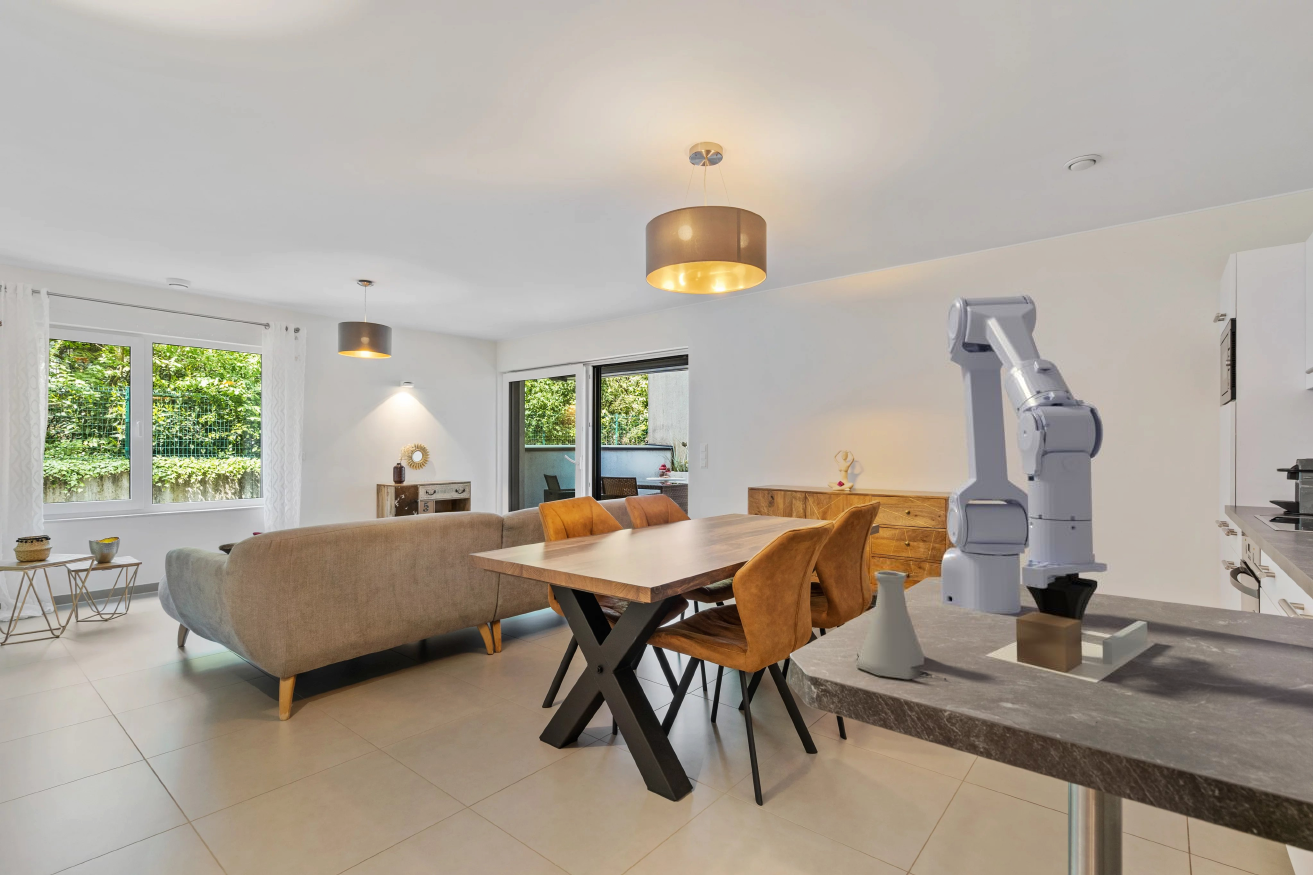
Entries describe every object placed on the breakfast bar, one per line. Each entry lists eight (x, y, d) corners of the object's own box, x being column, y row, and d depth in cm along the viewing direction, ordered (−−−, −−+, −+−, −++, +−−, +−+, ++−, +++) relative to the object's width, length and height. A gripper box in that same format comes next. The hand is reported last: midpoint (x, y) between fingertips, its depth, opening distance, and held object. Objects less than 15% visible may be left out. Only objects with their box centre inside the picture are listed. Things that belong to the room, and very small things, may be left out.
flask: (843, 669, 65) (842, 573, 66) (873, 653, 71) (872, 564, 71) (913, 686, 61) (912, 583, 61) (939, 667, 66) (938, 572, 66)
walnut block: (1017, 661, 64) (1016, 618, 64) (1034, 652, 67) (1033, 611, 67) (1065, 673, 61) (1064, 627, 61) (1082, 663, 63) (1081, 619, 63)
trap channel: (985, 666, 66) (984, 634, 66) (1055, 633, 78) (1054, 606, 78) (1096, 695, 58) (1095, 658, 58) (1155, 653, 70) (1154, 623, 70)
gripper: (1077, 526, 59) (1081, 672, 58) (1126, 516, 68) (1129, 642, 67) (999, 520, 64) (1001, 653, 64) (1053, 511, 73) (1056, 628, 73)
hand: (1062, 646), depth 66 cm, fingers closed
